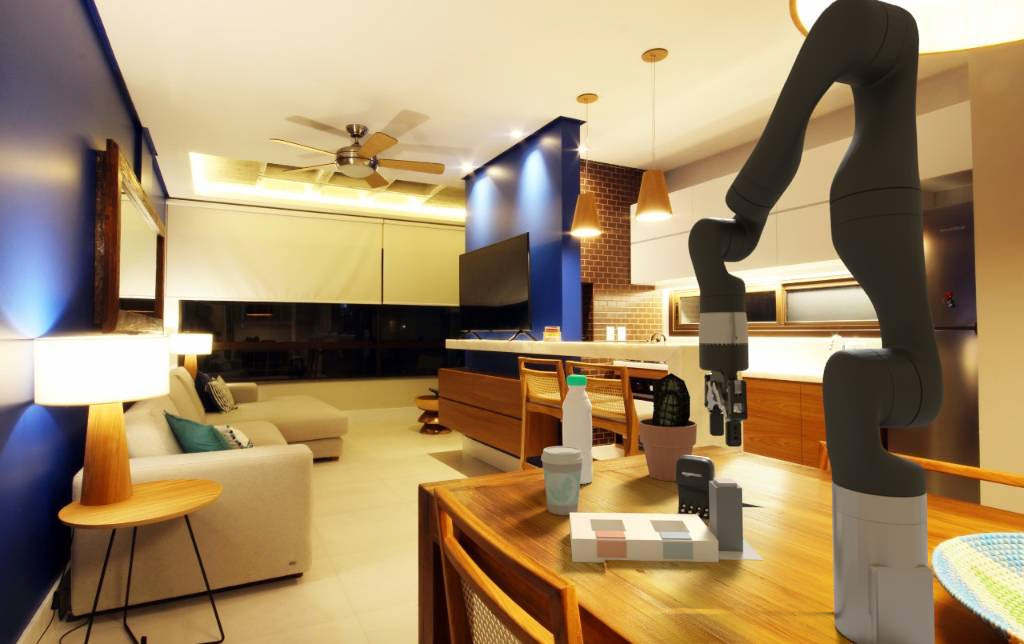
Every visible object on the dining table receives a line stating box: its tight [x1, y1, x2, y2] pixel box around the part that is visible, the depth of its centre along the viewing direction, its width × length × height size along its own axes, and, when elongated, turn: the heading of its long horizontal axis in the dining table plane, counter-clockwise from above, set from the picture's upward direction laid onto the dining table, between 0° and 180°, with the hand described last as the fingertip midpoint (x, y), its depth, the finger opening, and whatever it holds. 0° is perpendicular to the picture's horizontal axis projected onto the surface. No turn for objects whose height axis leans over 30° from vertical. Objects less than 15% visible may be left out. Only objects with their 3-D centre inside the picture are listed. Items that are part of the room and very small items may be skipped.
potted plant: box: [638, 372, 698, 482], centre depth 132 cm, size 14×14×25 cm
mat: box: [718, 537, 764, 561], centre depth 88 cm, size 10×8×1 cm
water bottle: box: [561, 374, 594, 485], centre depth 129 cm, size 7×7×25 cm
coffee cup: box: [540, 445, 584, 516], centre depth 108 cm, size 9×8×12 cm
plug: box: [709, 477, 744, 552], centre depth 88 cm, size 4×4×11 cm
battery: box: [675, 454, 717, 520], centre depth 103 cm, size 7×4×11 cm, turn 54°
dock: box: [569, 512, 720, 564], centre depth 89 cm, size 12×22×4 cm, turn 86°
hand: (724, 440), depth 88 cm, fingers open, 8 cm apart
